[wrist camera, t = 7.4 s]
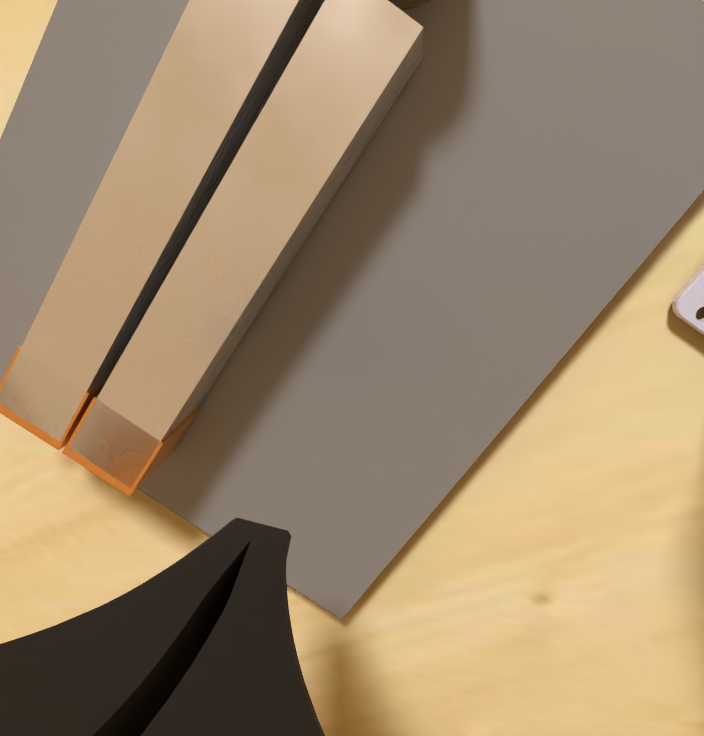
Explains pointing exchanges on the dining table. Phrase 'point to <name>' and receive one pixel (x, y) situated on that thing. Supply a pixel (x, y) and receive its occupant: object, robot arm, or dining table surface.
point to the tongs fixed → (151, 202)
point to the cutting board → (388, 254)
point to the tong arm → (249, 233)
